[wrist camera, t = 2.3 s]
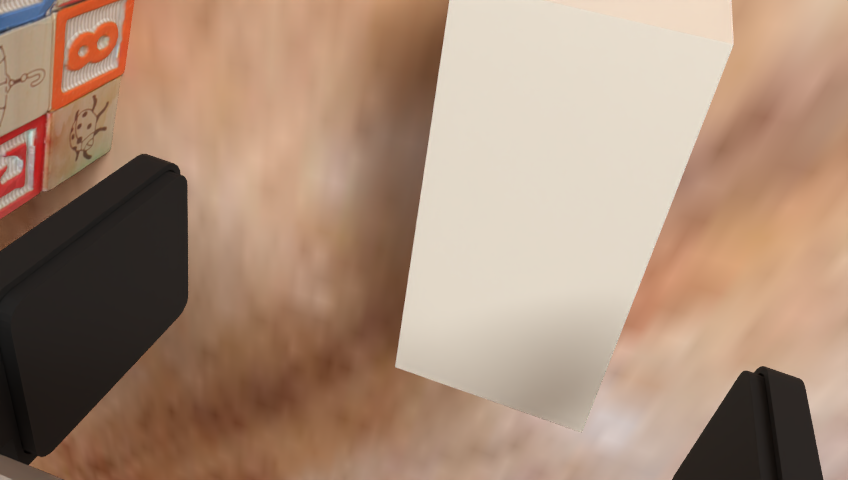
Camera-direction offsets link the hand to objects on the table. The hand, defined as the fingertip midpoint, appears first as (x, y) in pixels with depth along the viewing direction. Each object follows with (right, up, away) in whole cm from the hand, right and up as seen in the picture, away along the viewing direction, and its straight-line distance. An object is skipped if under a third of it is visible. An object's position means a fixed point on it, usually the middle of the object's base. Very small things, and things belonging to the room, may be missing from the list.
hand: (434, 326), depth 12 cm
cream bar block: (+4, +4, +6) cm, 8 cm away
